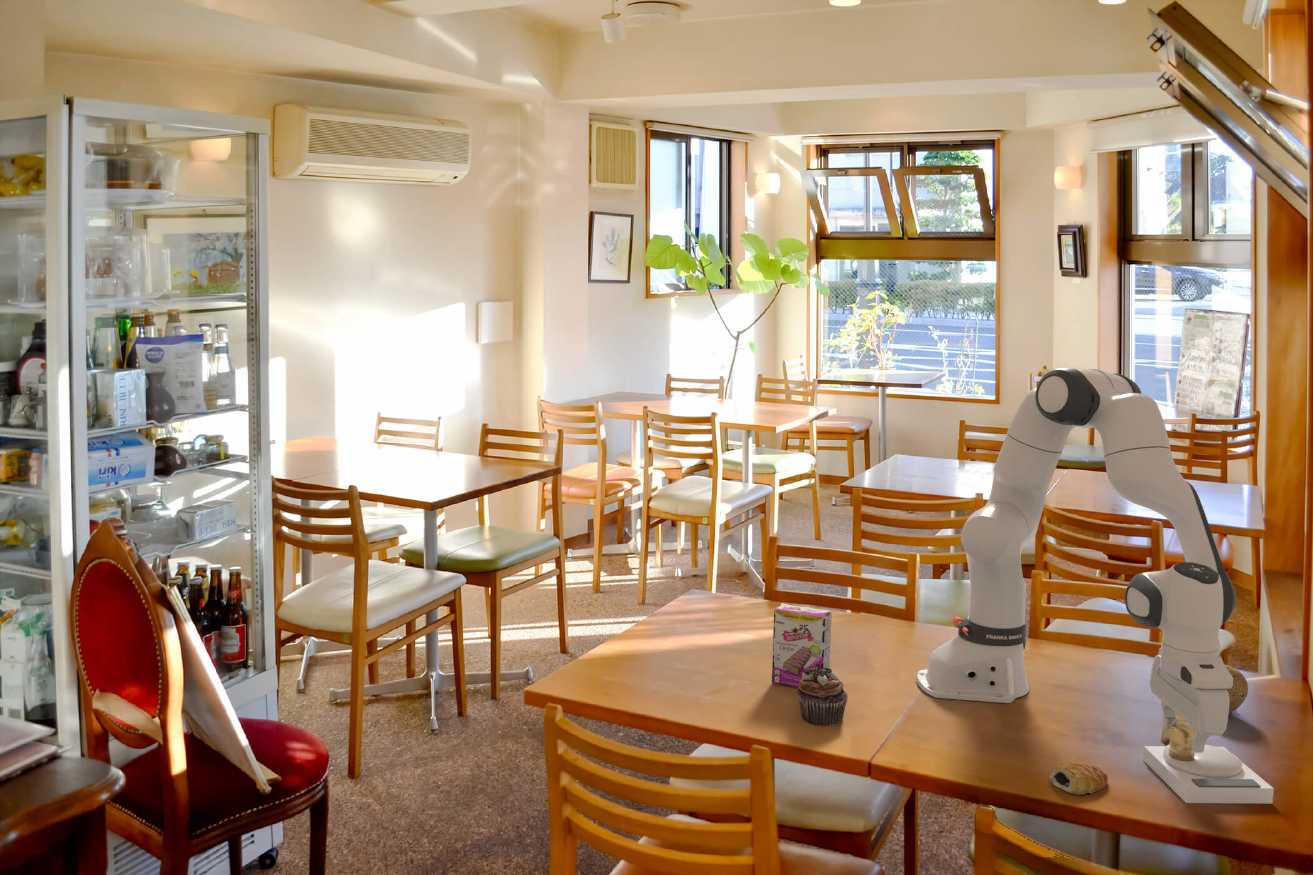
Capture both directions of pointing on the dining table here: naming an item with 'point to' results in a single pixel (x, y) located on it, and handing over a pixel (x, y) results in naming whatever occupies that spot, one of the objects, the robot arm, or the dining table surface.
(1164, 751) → the scale
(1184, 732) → the cylinder
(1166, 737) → the cylinder
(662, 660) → the dining table surface
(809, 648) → the candy bar box
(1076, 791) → the pastry
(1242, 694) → the natural sponge
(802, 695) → the cupcake
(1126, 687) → the dining table surface
